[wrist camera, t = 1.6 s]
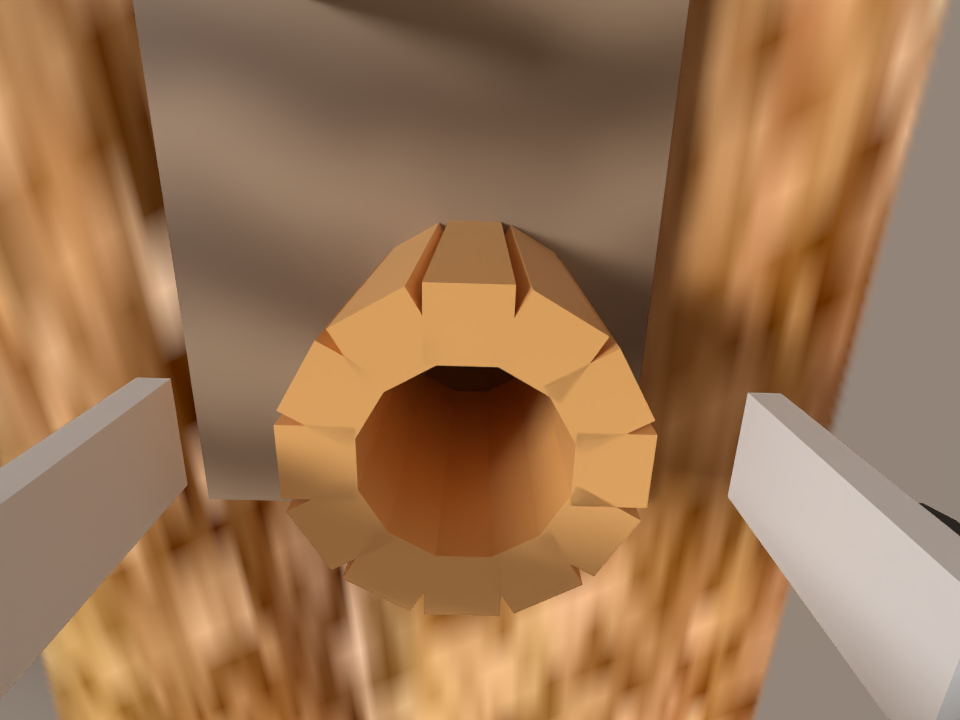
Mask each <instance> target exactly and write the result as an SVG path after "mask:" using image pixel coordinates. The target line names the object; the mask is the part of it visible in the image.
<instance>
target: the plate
mask: <svg viewBox="0 0 960 720" xmlns="http://www.w3.org/2000/svg"><path fill="white" fill-rule="evenodd" d="M689 1H690V0H133V6H134V12H135V19H136V25H137V32H138V38H139V45H140V51H141V58H142V64H143V71H144V77H145V84H146V90H147V97H148V103H149V110H150V116H151V123H152V129H153V136H154V142H155V149H156V155H157V162H158V168H159V175H160V181H161V188H162V194H163V201H164V207H165V214H166V220H167V227H168V233H169V240H170V246H171V253H172V259H173V266H174V272H175V279H176V285H177V292H178V298H179V305H180V311H181V318H182V325H183V331H184V338H185V344H186V351H187V357H188V364H189V370H190V377H191V383H192V390H193V396H194V403H195V409H196V416H197V422H198V429H199V435H200V442H201V448H202V455H203V461H204V468H205V474H206V481H207V487H208V494H209V499H236V500H275V501H292V500H293V499H281V493H280V483H279V474H278V464H277V454H276V445H275V435H274V426H273V425H274V424H275V422H276V421H277V419H278V418H279V417H280V415H281V414H282V413H280V412H278V411H276V410H277V408H278V406H279V405H280V403H281V401H282V399H283V397H284V395H285V394H286V392H287V390H288V388H289V386H290V384H291V383H292V381H293V379H294V377H295V375H296V373H297V372H298V370H299V368H300V366H301V364H302V362H303V361H304V359H305V357H306V355H307V353H308V351H309V350H310V348H311V346H312V344H313V342H314V340H315V339H316V338H317V337H318V336H319V334H320V333H321V332H322V331H323V330H324V329H325V327H326V326H327V325H328V324H329V323H330V321H331V320H332V319H333V318H334V317H335V316H336V314H337V313H338V312H339V311H340V310H341V309H342V307H343V306H344V305H345V304H346V303H347V301H348V300H349V299H350V298H351V297H352V296H353V294H354V293H355V292H356V291H357V290H358V289H359V287H360V286H361V285H362V284H363V283H364V281H365V280H366V279H367V278H368V277H369V276H370V274H371V273H372V272H373V271H374V270H375V268H376V267H377V266H378V265H379V264H380V263H381V261H382V260H383V259H384V258H385V257H386V256H387V255H388V254H389V253H390V252H391V251H392V250H393V249H394V248H395V247H396V246H398V245H400V244H402V243H404V242H405V241H407V240H409V239H411V238H413V237H414V236H416V235H418V234H420V233H421V232H423V231H425V230H427V229H429V228H430V227H432V226H434V225H436V224H438V223H439V224H440V226H441V227H442V229H443V231H444V230H445V228H446V225H447V223H448V221H449V220H454V221H489V222H501V223H502V227H503V232H504V235H505V233H506V232H507V230H508V228H509V227H510V225H512V226H513V227H515V228H517V229H518V230H520V231H521V232H523V233H525V234H526V235H528V236H529V237H531V238H532V239H534V240H536V241H537V242H539V243H540V244H542V245H543V246H545V247H547V248H548V249H550V250H551V251H553V252H554V253H555V254H556V256H557V257H558V259H559V260H561V261H562V262H563V264H564V265H565V267H566V268H567V270H568V271H569V273H570V274H571V276H572V277H573V279H574V280H575V282H576V283H577V285H578V286H579V288H580V289H581V291H582V292H583V294H584V295H585V297H586V298H587V300H588V301H589V302H590V304H591V305H592V307H593V308H594V310H595V311H596V313H597V314H598V316H599V317H600V319H601V320H602V322H603V323H604V325H605V326H606V328H607V329H608V331H609V332H610V334H611V335H612V337H613V338H614V340H615V341H616V343H617V344H618V346H619V347H620V349H621V351H622V353H623V355H624V357H625V359H626V361H627V363H628V365H629V367H630V369H631V371H632V373H633V376H634V378H635V380H636V382H637V384H638V386H639V382H640V375H641V367H642V359H643V352H644V344H645V336H646V329H647V321H648V314H649V306H650V298H651V291H652V283H653V275H654V268H655V260H656V252H657V245H658V237H659V230H660V222H661V214H662V207H663V199H664V191H665V184H666V176H667V169H668V161H669V153H670V146H671V138H672V130H673V123H674V115H675V107H676V100H677V92H678V85H679V77H680V69H681V62H682V54H683V46H684V39H685V31H686V24H687V16H688V8H689ZM424 373H425V374H426V375H427V376H429V377H430V378H432V379H434V380H436V381H437V382H439V383H441V384H443V385H445V386H446V387H448V388H450V389H452V390H453V391H472V392H488V391H490V390H492V389H494V388H496V387H498V386H500V385H502V384H504V383H506V382H508V381H510V380H512V379H514V378H516V377H515V376H513V375H511V374H509V373H508V372H506V371H504V370H502V369H501V368H499V367H476V366H439V365H436V366H434V367H432V368H430V369H428V370H426V371H424Z"/></svg>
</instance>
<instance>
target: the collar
mask: <svg viewBox="0 0 960 720" xmlns="http://www.w3.org/2000/svg"><path fill="white" fill-rule="evenodd" d="M436 365H439V366H476V367H499V368H501V369H502V370H504V371H506V372H508V373H509V374H511V375H513V376H515V377H516V378H514V379H512V380H510V381H508V382H506V383H504V384H502V385H500V386H498V387H496V388H494V389H492V390H490V391H488V392H472V391H453V390H452V389H450V388H448V387H446V386H445V385H443V384H441V383H439V382H437V381H436V380H434V379H432V378H430V377H429V376H427V375H426V374H425V373H424V371H426V370H428V369H430V368H432V367H434V366H436ZM276 411H278V412H280V413H282V414H281V415H280V417H279V418H278V419H277V421H276V422H275V424H274V425H273V426H274V435H275V445H276V454H277V464H278V474H279V483H280V493H281V499H293V500H292V502H291V504H290V506H289V508H288V510H287V513H288V514H289V516H290V517H291V518H292V519H293V521H294V522H295V523H296V525H297V526H298V527H299V529H300V530H301V531H302V532H303V534H304V535H305V536H306V538H307V539H308V540H309V542H310V543H311V544H312V545H313V547H314V548H315V549H316V551H317V552H318V553H319V555H320V556H321V557H322V558H323V560H324V561H325V562H326V564H327V565H328V566H329V568H330V569H331V570H332V569H335V568H337V567H339V566H341V565H343V564H345V563H347V566H346V569H345V572H344V576H343V579H344V580H346V581H348V582H350V583H352V584H355V585H357V586H359V587H361V588H363V589H365V590H367V591H369V592H371V593H373V594H376V595H378V596H380V597H382V598H384V599H386V600H388V601H390V602H392V603H394V604H396V605H399V606H401V607H403V608H405V609H407V610H409V611H411V609H412V608H413V606H414V605H415V604H416V602H417V601H418V600H419V598H420V597H421V595H422V594H423V593H424V614H431V615H472V616H500V599H501V595H502V596H503V598H504V600H505V601H506V603H507V604H508V606H509V607H510V609H511V610H512V612H513V613H516V612H519V611H521V610H523V609H526V608H528V607H531V606H533V605H535V604H538V603H540V602H542V601H545V600H547V599H550V598H552V597H554V596H557V595H559V594H562V593H564V592H566V591H569V590H571V589H573V588H576V587H578V586H581V585H582V580H581V576H580V571H579V569H581V570H582V571H584V572H586V573H588V574H590V575H592V576H595V575H596V573H597V572H598V571H599V570H600V569H601V567H602V566H603V565H604V564H605V563H606V562H607V560H608V559H609V558H610V557H611V556H612V554H613V553H614V552H615V551H616V550H617V549H618V547H619V546H620V545H621V544H622V543H623V541H624V540H625V539H626V538H627V537H628V535H629V534H630V533H631V532H632V531H633V530H634V528H635V527H636V526H637V525H638V524H639V522H640V521H641V520H640V517H639V515H638V512H637V510H636V508H647V503H648V497H649V490H650V483H651V476H652V470H653V463H654V456H655V449H656V442H657V436H658V435H657V433H656V432H655V430H654V428H653V427H652V425H651V422H654V421H655V419H654V417H653V415H652V413H651V411H650V408H649V406H648V404H647V402H646V400H645V398H644V396H643V394H642V392H641V390H640V388H639V386H638V384H637V382H636V380H635V378H634V376H633V373H632V371H631V369H630V367H629V365H628V363H627V361H626V359H625V357H624V355H623V353H622V351H621V349H620V347H619V346H618V344H617V343H616V341H615V340H614V338H613V337H612V335H611V334H610V332H609V331H608V329H607V328H606V326H605V325H604V323H603V322H602V320H601V319H600V317H599V316H598V314H597V313H596V311H595V310H594V308H593V307H592V305H591V304H590V302H589V301H588V300H587V298H586V297H585V295H584V294H583V292H582V291H581V289H580V288H579V286H578V285H577V283H576V282H575V280H574V279H573V277H572V276H571V274H570V273H569V271H568V270H567V268H566V267H565V265H564V264H563V262H562V261H561V260H559V259H558V257H557V256H556V254H555V253H554V252H553V251H551V250H550V249H548V248H547V247H545V246H543V245H542V244H540V243H539V242H537V241H536V240H534V239H532V238H531V237H529V236H528V235H526V234H525V233H523V232H521V231H520V230H518V229H517V228H515V227H513V226H512V225H510V227H509V228H508V230H507V232H506V233H505V235H504V232H503V227H502V223H501V222H489V221H454V220H449V221H448V223H447V225H446V228H445V230H444V231H443V229H442V227H441V226H440V224H439V223H438V224H436V225H434V226H432V227H430V228H429V229H427V230H425V231H423V232H421V233H420V234H418V235H416V236H414V237H413V238H411V239H409V240H407V241H405V242H404V243H402V244H400V245H398V246H396V247H395V248H394V249H393V250H392V251H391V252H390V253H389V254H388V255H387V256H386V257H385V258H384V259H383V260H382V261H381V263H380V264H379V265H378V266H377V267H376V268H375V270H374V271H373V272H372V273H371V274H370V276H369V277H368V278H367V279H366V280H365V281H364V283H363V284H362V285H361V286H360V287H359V289H358V290H357V291H356V292H355V293H354V294H353V296H352V297H351V298H350V299H349V300H348V301H347V303H346V304H345V305H344V306H343V307H342V309H341V310H340V311H339V312H338V313H337V314H336V316H335V317H334V318H333V319H332V320H331V321H330V323H329V324H328V325H327V326H326V327H325V329H324V330H323V331H322V332H321V333H320V334H319V336H318V337H317V338H316V339H315V340H314V342H313V344H312V346H311V348H310V350H309V351H308V353H307V355H306V357H305V359H304V361H303V362H302V364H301V366H300V368H299V370H298V372H297V373H296V375H295V377H294V379H293V381H292V383H291V384H290V386H289V388H288V390H287V392H286V394H285V395H284V397H283V399H282V401H281V403H280V405H279V406H278V408H277V410H276Z"/></svg>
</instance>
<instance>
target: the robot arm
mask: <svg viewBox="0 0 960 720" xmlns="http://www.w3.org/2000/svg"><path fill="white" fill-rule="evenodd" d="M186 486H187V479H186V473H185V467H184V460H183V454H182V448H181V441H180V435H179V429H178V422H177V416H176V410H175V404H174V397H173V391H172V385H171V379H170V378H135V379H134V380H132V381H131V382H129V383H128V384H126V385H125V386H123V387H122V388H120V389H119V390H117V391H116V392H114V393H113V394H111V395H110V396H108V397H107V398H105V399H104V400H102V401H101V402H99V403H97V404H96V405H94V406H93V407H91V408H90V409H88V410H87V411H85V412H84V413H82V414H81V415H79V416H78V417H76V418H75V419H73V420H72V421H70V422H69V423H67V424H66V425H64V426H63V427H61V428H60V429H58V430H57V431H55V432H54V433H52V434H51V435H49V436H48V437H46V438H45V439H43V440H42V441H40V442H39V443H37V444H36V445H34V446H33V447H31V448H30V449H28V450H27V451H25V452H24V453H22V454H21V455H19V456H18V457H16V458H15V459H13V460H12V461H10V462H9V463H7V464H6V465H4V466H3V467H1V468H0V700H1V698H2V697H3V696H4V695H5V694H6V693H7V691H8V690H9V689H10V688H11V687H12V686H13V685H14V683H15V682H16V681H17V680H18V679H19V678H20V676H21V675H22V674H23V673H24V672H25V671H26V670H27V669H28V667H29V666H30V665H31V664H32V663H33V662H34V660H35V659H36V658H37V657H38V656H39V655H40V654H41V652H42V651H43V650H44V649H45V648H46V647H47V646H48V644H49V643H50V642H51V641H52V640H53V639H54V638H55V636H56V635H57V634H58V633H59V632H60V631H61V629H62V628H63V627H64V626H65V625H66V624H67V623H68V621H69V620H70V619H71V618H72V617H73V616H74V615H75V613H76V612H77V611H78V610H79V609H80V608H81V606H82V605H83V604H84V603H85V602H86V601H87V600H88V598H89V597H90V596H91V595H92V594H93V593H94V592H95V590H96V589H97V588H98V587H99V586H100V585H101V584H102V582H103V581H104V580H105V579H106V578H107V577H108V575H109V574H110V573H111V572H112V571H113V570H114V569H115V567H116V566H117V565H118V564H119V563H120V562H121V561H122V559H123V558H124V557H125V556H126V555H127V554H128V552H129V551H130V550H131V549H132V548H133V547H134V546H135V544H136V543H137V542H138V541H139V540H140V539H141V538H142V536H143V535H144V534H145V533H146V532H147V531H148V530H149V528H150V527H151V526H152V525H153V524H154V523H155V521H156V520H157V519H158V518H159V517H160V516H161V515H162V513H163V512H164V511H165V510H166V509H167V508H168V507H169V505H170V504H171V503H172V502H173V501H174V500H175V498H176V497H177V496H178V495H179V494H180V493H181V492H182V490H183V489H184V488H185V487H186ZM728 498H729V499H730V501H731V502H732V504H733V505H734V506H735V508H736V509H737V510H738V512H739V513H740V515H741V516H742V517H743V519H744V520H745V522H746V523H747V524H748V526H749V527H750V528H751V530H752V531H753V533H754V534H755V535H756V537H757V538H758V540H759V541H760V542H761V544H762V545H763V546H764V548H765V549H766V551H767V552H768V553H769V555H770V556H771V558H772V559H773V560H774V562H775V563H776V564H777V566H778V567H779V569H780V570H781V571H782V573H783V574H784V576H785V577H786V578H787V580H788V581H789V582H790V584H791V585H792V587H793V588H794V589H795V591H796V592H797V594H798V595H799V596H800V598H801V599H802V600H803V602H804V603H805V605H806V606H807V607H808V609H809V610H810V611H811V613H812V614H813V616H814V617H815V618H816V620H817V621H818V622H819V624H820V625H821V627H822V628H823V630H824V631H825V632H826V634H827V635H828V636H829V638H830V639H831V641H832V642H833V643H834V645H835V646H836V648H837V649H838V650H839V652H840V653H841V654H842V656H843V657H844V658H845V660H846V661H847V663H848V664H849V666H850V667H851V668H852V670H853V671H854V672H855V674H856V675H857V677H858V678H859V679H860V681H861V682H862V683H863V685H864V686H865V687H866V689H867V690H868V692H869V693H870V695H871V696H872V697H873V699H874V700H875V701H876V703H877V704H878V705H879V707H880V708H881V710H882V711H883V713H884V714H885V715H886V717H887V718H888V720H960V523H958V522H957V521H956V520H954V519H952V518H950V517H948V516H946V515H944V514H942V513H941V512H938V511H937V510H935V509H933V508H931V507H929V506H927V505H925V504H923V503H918V502H916V501H915V500H914V499H913V498H911V497H910V496H909V495H908V494H906V493H905V492H904V491H903V490H901V489H900V488H899V487H898V486H896V485H895V484H894V483H893V482H891V481H890V480H889V479H888V478H886V477H885V476H884V475H883V474H881V473H880V472H879V471H878V470H876V469H875V468H874V467H873V466H871V465H870V464H869V463H868V462H866V461H865V460H864V459H863V458H861V457H860V456H859V455H858V454H856V453H855V452H854V451H853V450H851V449H850V448H849V447H848V446H846V445H845V444H844V443H843V442H841V441H840V440H839V439H838V438H836V437H835V436H834V435H833V434H831V433H830V432H829V431H828V430H826V429H825V428H824V427H823V426H821V425H820V424H819V423H818V422H816V421H815V420H814V419H813V418H811V417H810V416H809V415H808V414H806V413H805V412H804V411H803V410H801V409H800V408H799V407H798V406H796V405H795V404H794V403H793V402H791V401H790V400H789V399H788V398H786V397H785V396H784V395H783V394H781V393H748V394H747V400H746V405H745V410H744V415H743V420H742V425H741V430H740V436H739V441H738V446H737V451H736V456H735V461H734V466H733V472H732V477H731V482H730V487H729V492H728Z"/></svg>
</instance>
